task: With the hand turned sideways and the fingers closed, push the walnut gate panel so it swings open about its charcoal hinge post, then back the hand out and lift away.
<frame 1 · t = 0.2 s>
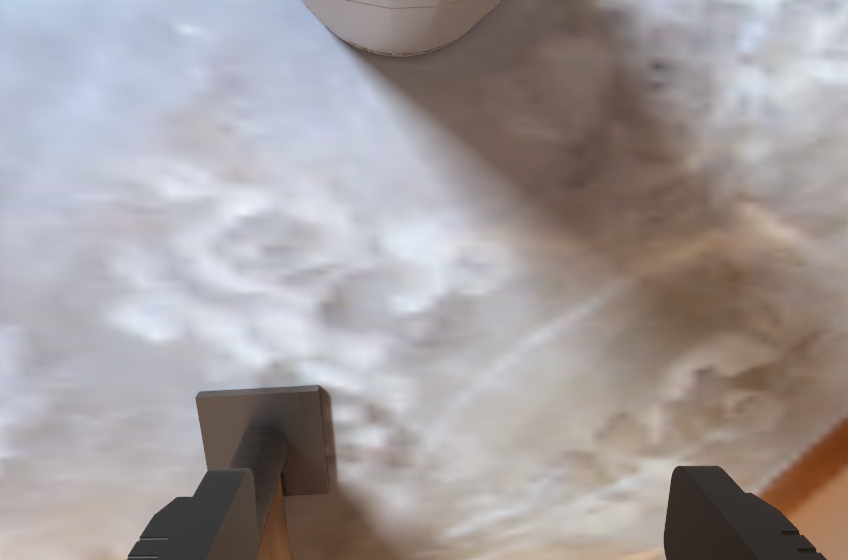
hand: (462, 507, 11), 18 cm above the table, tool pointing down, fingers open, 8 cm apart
gate frame: (266, 440, 31), on the table
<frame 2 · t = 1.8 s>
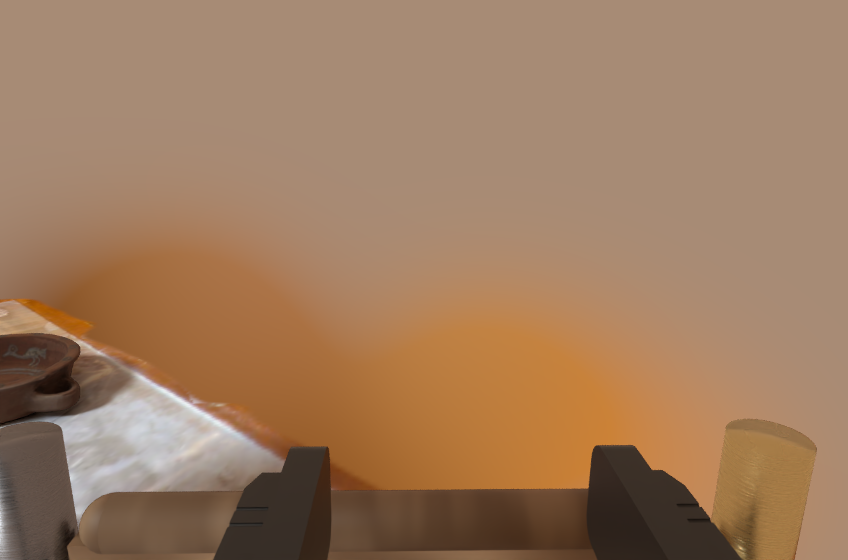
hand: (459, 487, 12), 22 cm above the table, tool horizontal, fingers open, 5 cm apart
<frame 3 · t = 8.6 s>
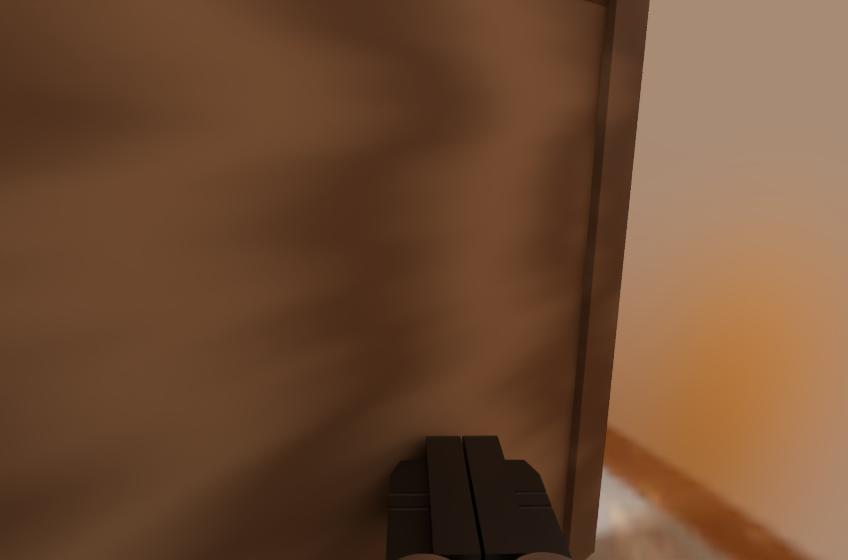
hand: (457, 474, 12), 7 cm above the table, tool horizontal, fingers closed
gate panel: (336, 371, 11), point 10 cm above the table, hinge at 67.8°, touching gripper
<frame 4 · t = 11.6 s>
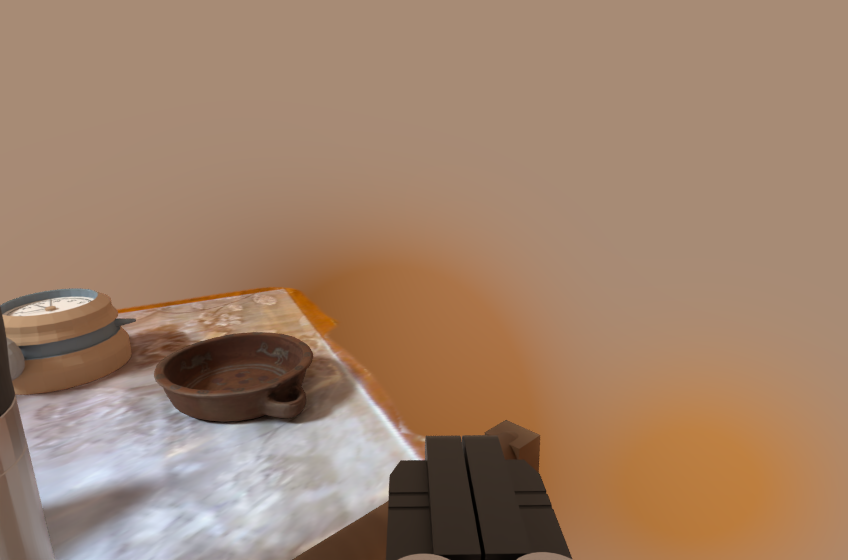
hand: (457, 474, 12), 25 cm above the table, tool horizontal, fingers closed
dish: (240, 397, 71), on the table
alarm clock: (38, 374, 78), on the table
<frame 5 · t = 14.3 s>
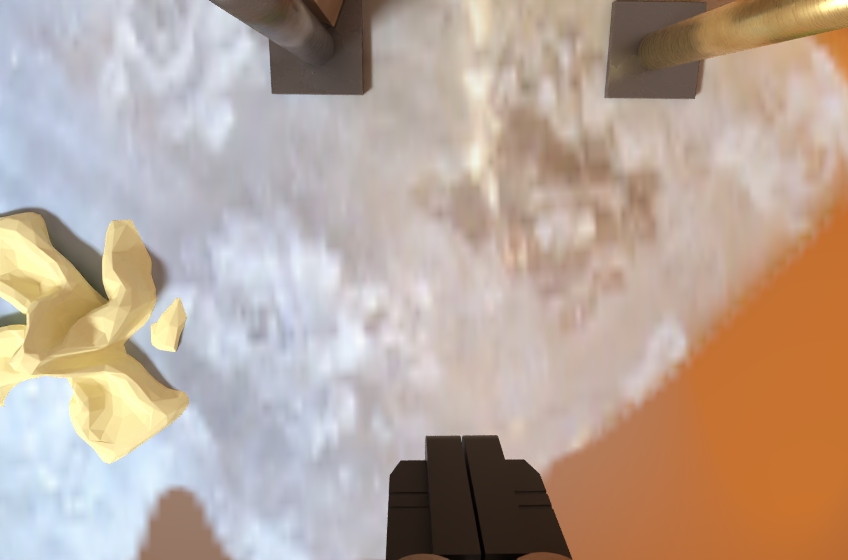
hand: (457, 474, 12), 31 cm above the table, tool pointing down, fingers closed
gate frame: (316, 47, 39), on the table
cloth: (87, 315, 44), on the table
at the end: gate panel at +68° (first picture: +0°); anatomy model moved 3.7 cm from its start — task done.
